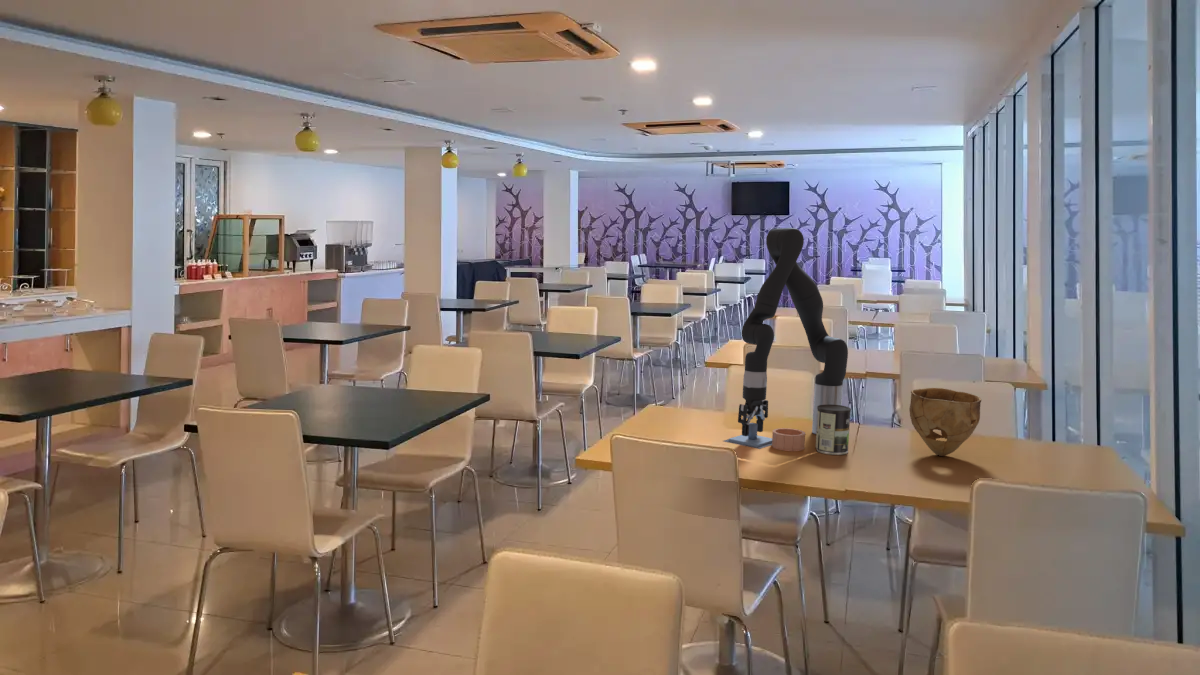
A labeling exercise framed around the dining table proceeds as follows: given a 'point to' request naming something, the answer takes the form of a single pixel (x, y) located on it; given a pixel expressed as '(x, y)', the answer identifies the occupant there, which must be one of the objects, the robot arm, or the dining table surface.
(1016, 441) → the dining table surface
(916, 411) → the bowl
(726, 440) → the mat
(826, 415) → the coffee can
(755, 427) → the lid
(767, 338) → the robot arm
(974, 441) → the dining table surface
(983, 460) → the dining table surface
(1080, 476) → the dining table surface
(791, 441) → the faceted pink cup
